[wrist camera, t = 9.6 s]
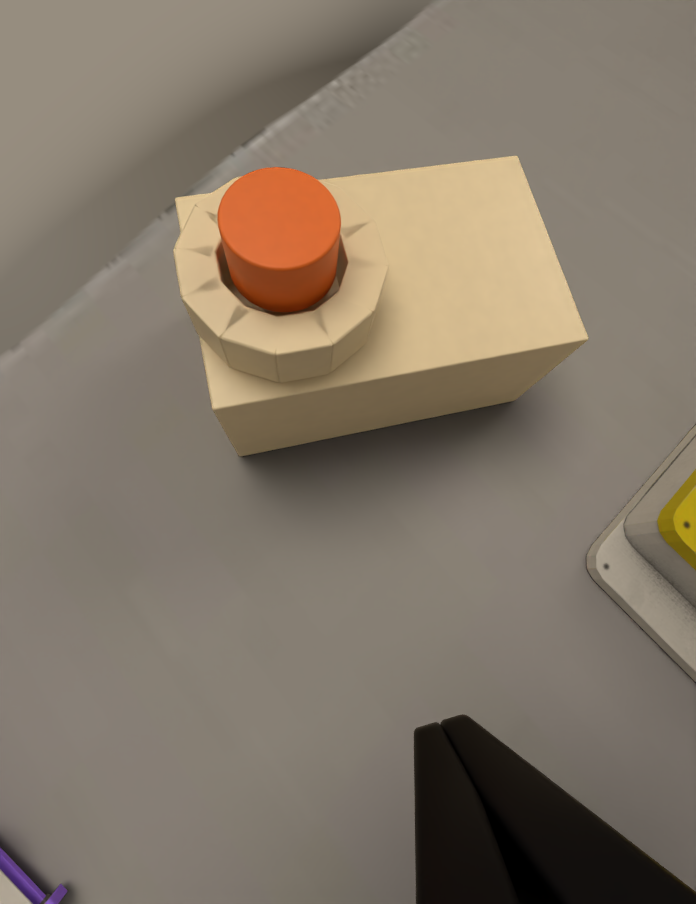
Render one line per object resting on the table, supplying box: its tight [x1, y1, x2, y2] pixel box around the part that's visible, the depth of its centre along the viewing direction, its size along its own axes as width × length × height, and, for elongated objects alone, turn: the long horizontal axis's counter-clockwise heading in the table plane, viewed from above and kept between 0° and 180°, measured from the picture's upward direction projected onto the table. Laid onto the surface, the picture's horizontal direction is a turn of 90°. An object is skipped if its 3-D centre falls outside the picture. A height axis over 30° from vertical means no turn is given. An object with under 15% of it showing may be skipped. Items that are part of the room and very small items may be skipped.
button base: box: [173, 156, 588, 456], centre depth 18 cm, size 8×13×8 cm, turn 103°
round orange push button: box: [217, 167, 341, 312], centre depth 13 cm, size 3×3×2 cm
